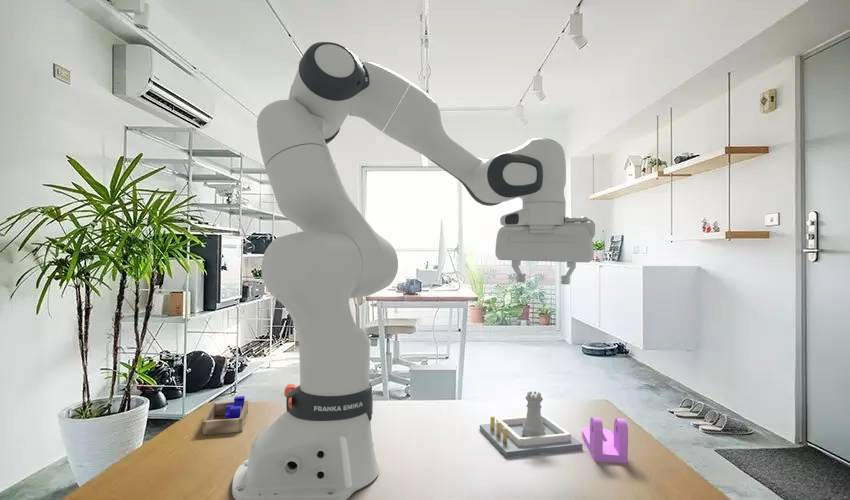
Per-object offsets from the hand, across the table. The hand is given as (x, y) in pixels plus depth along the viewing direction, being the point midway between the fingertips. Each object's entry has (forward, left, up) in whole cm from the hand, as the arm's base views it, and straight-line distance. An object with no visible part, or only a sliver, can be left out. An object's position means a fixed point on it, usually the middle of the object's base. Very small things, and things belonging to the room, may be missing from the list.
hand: (542, 283), depth 103 cm
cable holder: (-63, +14, -30) cm, 71 cm away
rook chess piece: (-6, -9, -28) cm, 30 cm away
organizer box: (-64, +13, -29) cm, 72 cm away
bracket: (+5, -15, -30) cm, 33 cm away
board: (-7, -9, -29) cm, 31 cm away
